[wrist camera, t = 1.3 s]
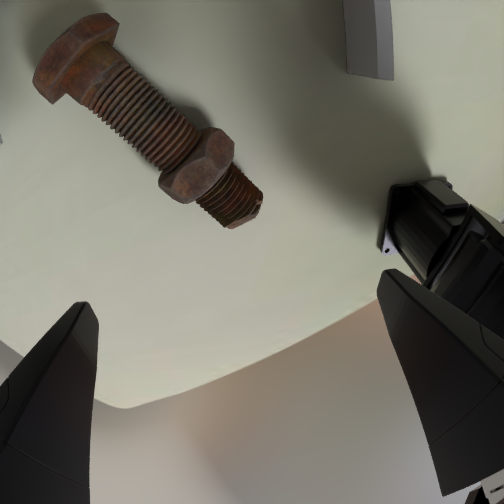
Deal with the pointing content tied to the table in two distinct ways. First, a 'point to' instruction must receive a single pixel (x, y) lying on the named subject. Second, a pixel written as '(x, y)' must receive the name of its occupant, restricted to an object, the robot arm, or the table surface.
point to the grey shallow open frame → (367, 39)
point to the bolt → (147, 121)
